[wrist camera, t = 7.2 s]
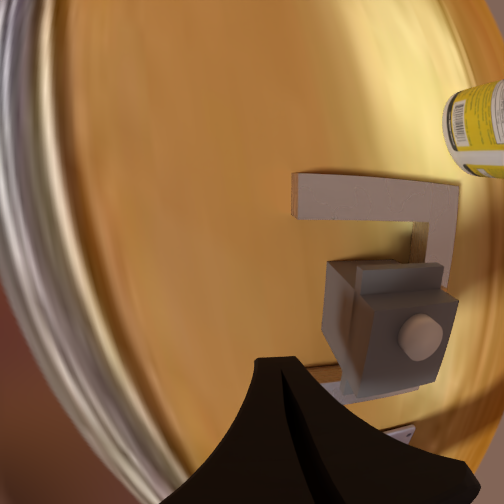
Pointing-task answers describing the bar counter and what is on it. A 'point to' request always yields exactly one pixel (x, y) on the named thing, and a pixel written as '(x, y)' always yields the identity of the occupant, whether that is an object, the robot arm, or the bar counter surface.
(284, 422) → the robot arm
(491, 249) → the bar counter surface
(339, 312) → the servo block
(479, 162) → the supplement bottle
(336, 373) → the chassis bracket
